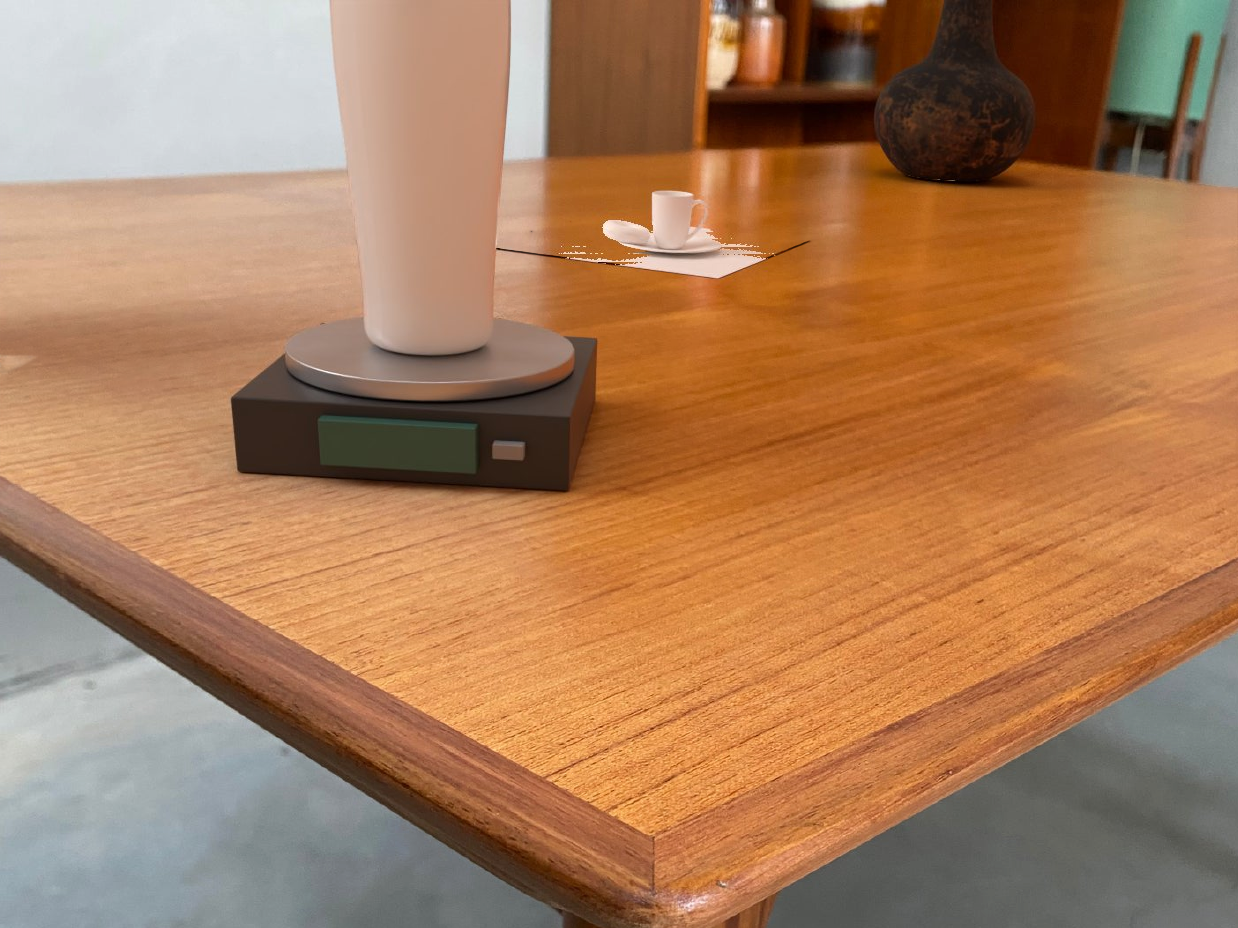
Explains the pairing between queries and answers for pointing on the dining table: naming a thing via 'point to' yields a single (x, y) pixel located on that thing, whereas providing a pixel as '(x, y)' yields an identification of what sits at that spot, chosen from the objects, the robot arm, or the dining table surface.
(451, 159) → the drinking glass
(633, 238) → the teacup and saucer
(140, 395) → the dining table surface
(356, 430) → the scale
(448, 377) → the scale pan
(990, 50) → the rusty bud vase
